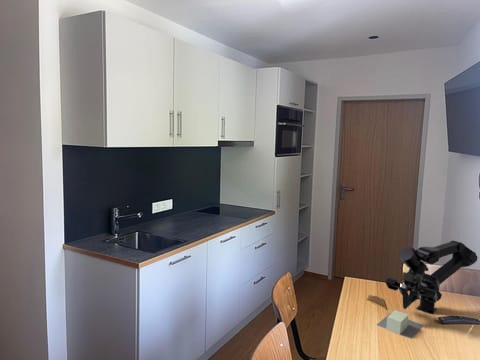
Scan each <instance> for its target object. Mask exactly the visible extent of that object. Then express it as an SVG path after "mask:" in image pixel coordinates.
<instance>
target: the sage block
mask: <svg viewBox="0 0 480 360" xmlns="http://www.w3.org/2000/svg"><path fill="white" fill-rule="evenodd" d="M390 313H391V314H390ZM390 313H389V314H390V315H389V314H388V315H389V316H388V317H387V325H386V330H387V331H389V332H392V333H394V334H396V335H400V334H401V333H402V332H403V331H404V330H405V329H406V328H407V325H408V320H409V314H406V312H402V311H399V310H396V309H395V310H393V312H390Z"/></svg>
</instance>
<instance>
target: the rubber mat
mask: <svg viewBox="0 0 480 360" xmlns="http://www.w3.org/2000/svg"><path fill="white" fill-rule="evenodd" d="M391 313H392V312H390V313H388V314H387V315H386V316H385V317H384V318H382V319H381V320H380V321H379V322H378V323H376V326H377V327H381V328H383V329H386V325H387V317H388V316H389V315H390V314H391ZM424 326H425V325H424V324H422V323H420V322H417V321H414V320H412V319H408V325H407V328H406V329H405V330H404V331H403V332H402V333H401V334H400V335H401V336H403V337H406V338H408V339H411V340H412V339H413V338H414V337H415V336H416V335H417V333H418V332H419V331H420V330H421V329H422V328H423V327H424ZM386 330H387V329H386Z"/></svg>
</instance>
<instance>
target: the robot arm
mask: <svg viewBox="0 0 480 360" xmlns="http://www.w3.org/2000/svg"><path fill="white" fill-rule="evenodd" d="M449 255H452V256H451V258H450V259H449V260H448V261H447V262H446V263H444V264H443V265H442V266H440V267H439V268H438V269H436V270H435V271H434V272H433V273H431V274H428V273H426V272H429V268H428V266H427V264H428V265H434V264H436V263H438V262H439V261H440V259H441V258H443V257H447V256H449ZM398 257H399V259H400V260H401V261H402V263H404V265H405V266H406V267H408V271H405V272H404V271H403V272H402V275H401V280H402V283H401V282H400V283H399V281H398V279H396V278H394V277H390V276H389V277H387V278H386V279H385V285H386V287H387V288H388V289H390V290H391V291H398V290H399V292H400V294H401V295H402V308H403V309H405V310H406V309H407V308H409V307H410V305H412V304H413V303H414V302H416V301H417V300H419V305H418V306H417V307H416V310H418V311H421V312H424V313H425V314H430V315H434V314H435V313H436V311H438V308H436V303H437V302H439V301H440V300H441V299H442V297H443V296H442V293H441V292H440V288H441V287H440V286H441V284H442V283H444V282H445V281H446V280H447V279H448V278H450V277H451V276H453V274H455V273H456V272H458V270H460V269H461V268H466V267H471V266H472V265H474V264H475V263H476V262H477V261H478V255H477V254H476V252H475V251H473V250H472V249H470V248H469V247H467V246H466V245H465V244H464V243H463V242H460V241H457V240H451V241H448V242H445V243H443V244H439V245H436V246H420V247H419V248H417V249H415V248H414V247H412V246H409V247H408V248H405V249H403V250H401V251H400V252H399V254H398ZM426 263H427V264H426Z"/></svg>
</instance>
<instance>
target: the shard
mask: <svg viewBox="0 0 480 360" xmlns="http://www.w3.org/2000/svg"><path fill="white" fill-rule="evenodd" d="M365 301H366V302H368V303H371V304H373V305H374V306H375V305H376V306H378V307H379V308H382V309H385V310H387V306H386V302H385V299H384V298H383V297H380V296H378V295H371V294H367V298H366V299H365Z"/></svg>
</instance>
